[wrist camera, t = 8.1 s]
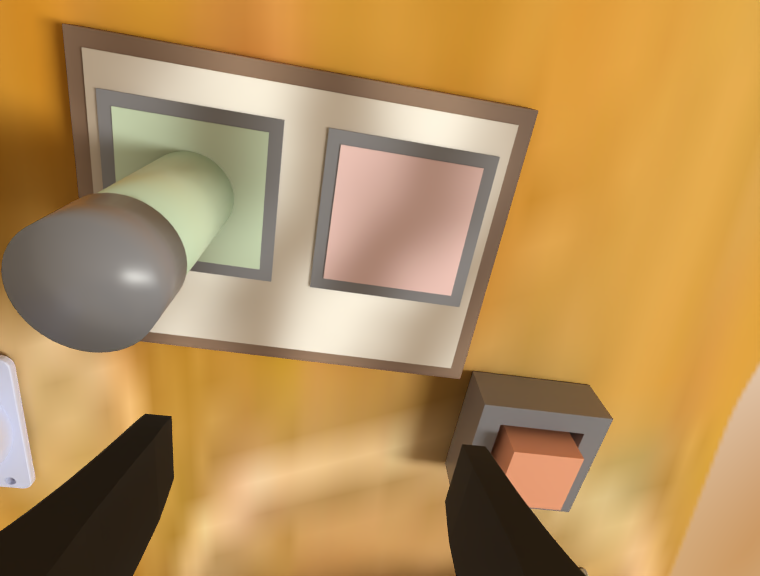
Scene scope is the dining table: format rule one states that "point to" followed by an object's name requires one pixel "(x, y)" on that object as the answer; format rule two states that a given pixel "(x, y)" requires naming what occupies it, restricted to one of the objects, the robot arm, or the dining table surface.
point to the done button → (538, 463)
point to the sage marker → (117, 253)
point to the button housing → (530, 416)
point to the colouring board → (310, 198)
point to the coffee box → (584, 571)
